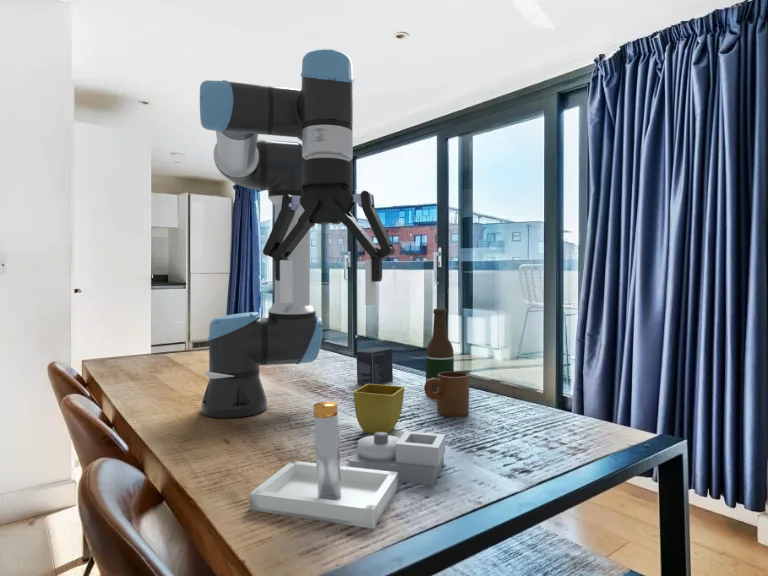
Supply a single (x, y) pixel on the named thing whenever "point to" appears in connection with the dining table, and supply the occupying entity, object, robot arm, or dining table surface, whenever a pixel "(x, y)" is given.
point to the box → (374, 366)
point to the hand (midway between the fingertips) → (327, 303)
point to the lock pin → (327, 450)
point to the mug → (450, 393)
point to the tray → (300, 499)
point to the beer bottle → (439, 349)
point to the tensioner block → (403, 455)
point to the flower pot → (378, 407)
